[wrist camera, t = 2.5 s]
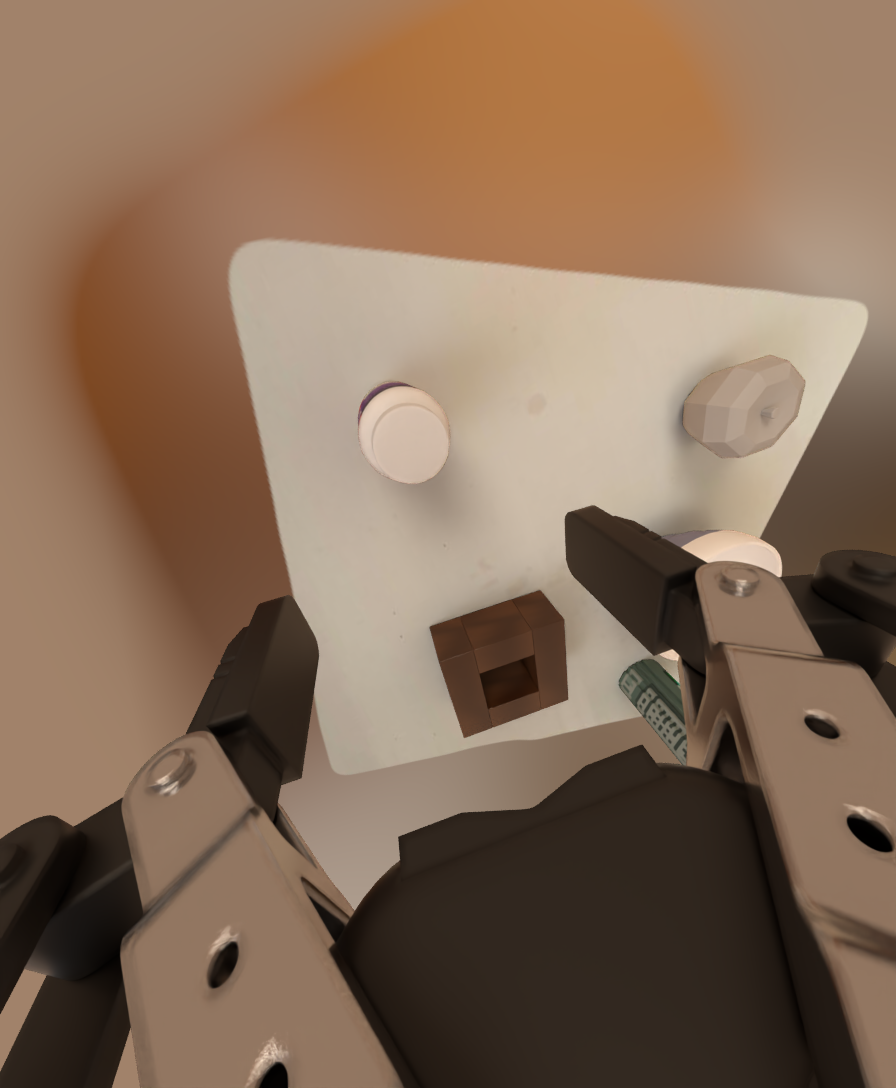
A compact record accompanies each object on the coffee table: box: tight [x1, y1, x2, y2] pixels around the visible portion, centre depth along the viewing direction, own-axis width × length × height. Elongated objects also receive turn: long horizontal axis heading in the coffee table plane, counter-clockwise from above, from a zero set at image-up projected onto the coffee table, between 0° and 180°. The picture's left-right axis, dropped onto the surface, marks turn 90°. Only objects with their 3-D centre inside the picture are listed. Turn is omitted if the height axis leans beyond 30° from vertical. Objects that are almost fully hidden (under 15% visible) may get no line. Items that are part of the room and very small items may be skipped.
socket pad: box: [430, 590, 568, 738], centre depth 37 cm, size 13×13×5 cm
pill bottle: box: [358, 382, 450, 484], centre depth 22 cm, size 5×5×10 cm
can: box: [619, 660, 687, 765], centre depth 42 cm, size 6×6×15 cm
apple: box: [683, 355, 805, 458], centre depth 28 cm, size 8×8×7 cm
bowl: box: [660, 530, 782, 660], centre depth 36 cm, size 14×14×8 cm
